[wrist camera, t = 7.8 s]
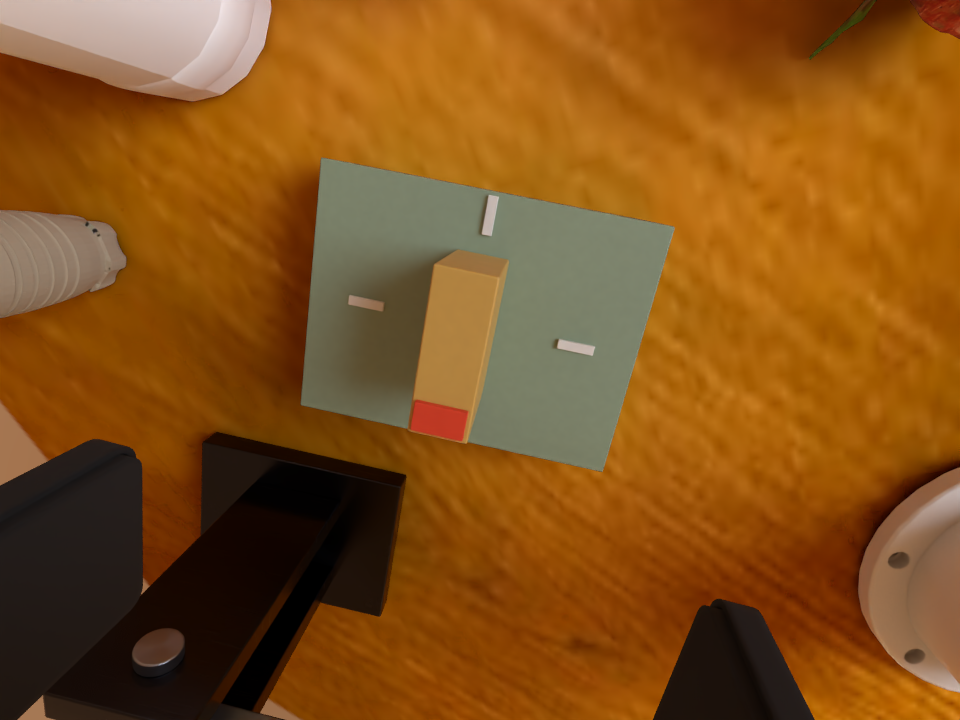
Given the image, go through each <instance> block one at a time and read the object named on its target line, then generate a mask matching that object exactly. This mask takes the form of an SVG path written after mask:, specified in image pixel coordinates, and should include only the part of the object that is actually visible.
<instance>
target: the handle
mask: <svg viewBox="0 0 960 720" xmlns="http://www.w3.org/2000/svg"><path fill="white" fill-rule="evenodd" d="M116 236H117V234H116V232H115V231H114V230H113V229H112V227H111V226H109V225H108V224H106V223H103V222H97V221H86V220H85V219H84V218H82V217H79V216H73V215H60V214H58V215H55V214H48V213H40V212H29V211H12V210H0V318H3V317H8V316H12V315H17V314H21V313H25V312H29V311H33V310H37V309H40V308H43V307H46V306H50V305H53V304H56V303H59V302H62V301H65V300H68V299H70V298H73V297H75V296H77V295H80V294H82V293H84V292H86V291H88V290H89V291H90V292H92V291H96V290H99V289H102V288H105V287H107V286H109V285H111V284H113V283H114V282H115V280H116V278H115V277H116V274H117V272H118V271H119V270H120V269H123V268H125V266H126V256H125V255H124V254H123V253H122V251H121V249H120V247H119V245H118V242H117V238H116Z"/></svg>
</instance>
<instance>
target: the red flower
mask: <svg viewBox="0 0 960 720" xmlns="http://www.w3.org/2000/svg"><path fill="white" fill-rule="evenodd" d="M875 1H877V0H865V1H864V2H863V3H862V4H861V5H860V6H859V8H858V9H857V10H856V11H855V12H854V13H853V14H852V15H851V17H850V18H848V19H847V20H846V21H845V22H844V23H843V24H842V25H841V26H840V27H839V28H838V29H837V30H836V31H835V32H834V33H833V34H832V35H831V36H830V37H829V38H828V39H827V40H826V41H825V42H824V43H823V44H822V45H821V46H820V47H819V48H818V49H816V51H815V52H814V53H813V54H812V55H811V56H810V57H809V59H811V58H813V57H814V56H815V55H816V54H817V53H818V52H820V51H821V50H822V49H824V48H825V47H827V46H828V45H830V44H831V43H832V42H833V41H834V40H835V39H836V38H837V37H838V36H839V35H840V34H841V33H842V32H843V31H845V30H847V29H848V28H850V27H852V26H853V25H855V24H857V23H858V22H860V21H862V20H863V19H864V17H865V16H866V14H867V13H868V12H869V10H870V9H871V7H872V6H873V4H874V3H875ZM910 2H911V4H912V5H913V6H914V7H915V9H916V10H917V12H918V14H919V16H920V17H921V18H922V20H923V21H924V22H926V23H927V24H928V25H930V26H931V27H933V28H934V29H936V30H938V31H940V32H943V33H949V34H951V35H953V36H955V37H957V38H959V39H960V0H910Z"/></svg>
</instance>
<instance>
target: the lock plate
mask: <svg viewBox="0 0 960 720" xmlns="http://www.w3.org/2000/svg"><path fill="white" fill-rule="evenodd" d="M673 232H674V227H673V226H669V225H664V224H660V223H655V222H650V221H645V220H640V219H635V218H629V217H624V216H619V215H614V214H609V213H604V212H599V211H594V210H589V209H584V208H578V207H573V206H568V205H563V204H558V203H553V202H548V201H543V200H538V199H533V198H527V197H522V196H517V195H512V194H507V193H502V192H497V191H492V190H487V189H482V188H476V187H471V186H466V185H461V184H456V183H451V182H446V181H441V180H436V179H431V178H425V177H420V176H415V175H410V174H405V173H400V172H395V171H390V170H385V169H380V168H374V167H369V166H364V165H359V164H354V163H349V162H343V161H338V160H332V159H327V158H321V166H320V178H319V190H318V202H317V214H316V226H315V238H314V250H313V262H312V274H311V286H310V298H309V310H308V322H307V334H306V346H305V358H304V370H303V382H302V394H301V405H303V406H307V407H312V408H316V409H321V410H325V411H330V412H334V413H339V414H343V415H348V416H352V417H357V418H361V419H366V420H370V421H375V422H379V423H384V424H388V425H393V426H397V427H402V428H406V429H407V428H408V421H409V415H410V409H411V402H412V396H413V390H414V384H415V377H416V371H417V365H418V358H419V352H420V346H421V340H422V333H423V327H424V321H425V314H426V308H427V302H428V296H429V289H430V283H431V277H432V270H433V265H434V264H435V263H437V262H438V261H440V260H442V259H443V258H445V257H446V256H448V255H450V254H451V253H453V252H454V251H456V250H464V251H469V252H474V253H478V254H483V255H488V256H493V257H498V258H503V259H507V260H509V265H508V270H507V275H506V280H505V284H504V289H503V294H502V299H501V304H500V309H499V314H498V319H497V324H496V329H495V333H494V338H493V343H492V348H491V353H490V358H489V363H488V368H487V373H486V377H485V382H484V387H483V392H482V396H481V399H480V403H479V406H478V409H477V412H476V416H475V419H474V422H473V426H472V429H471V432H470V435H469V439H468V442H470V443H474V444H479V445H483V446H488V447H492V448H497V449H501V450H506V451H510V452H515V453H519V454H524V455H528V456H533V457H537V458H542V459H546V460H551V461H555V462H560V463H564V464H569V465H573V466H578V467H582V468H587V469H591V470H596V471H600V472H602V471H603V469H604V465H605V462H606V458H607V455H608V452H609V448H610V445H611V442H612V438H613V435H614V431H615V428H616V425H617V421H618V418H619V414H620V411H621V408H622V404H623V401H624V398H625V394H626V391H627V387H628V384H629V381H630V377H631V374H632V370H633V367H634V364H635V360H636V357H637V354H638V350H639V347H640V343H641V340H642V337H643V333H644V330H645V326H646V323H647V320H648V316H649V313H650V310H651V306H652V303H653V299H654V296H655V293H656V289H657V286H658V282H659V279H660V276H661V272H662V269H663V266H664V262H665V259H666V255H667V252H668V249H669V245H670V242H671V238H672V235H673Z"/></svg>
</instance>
